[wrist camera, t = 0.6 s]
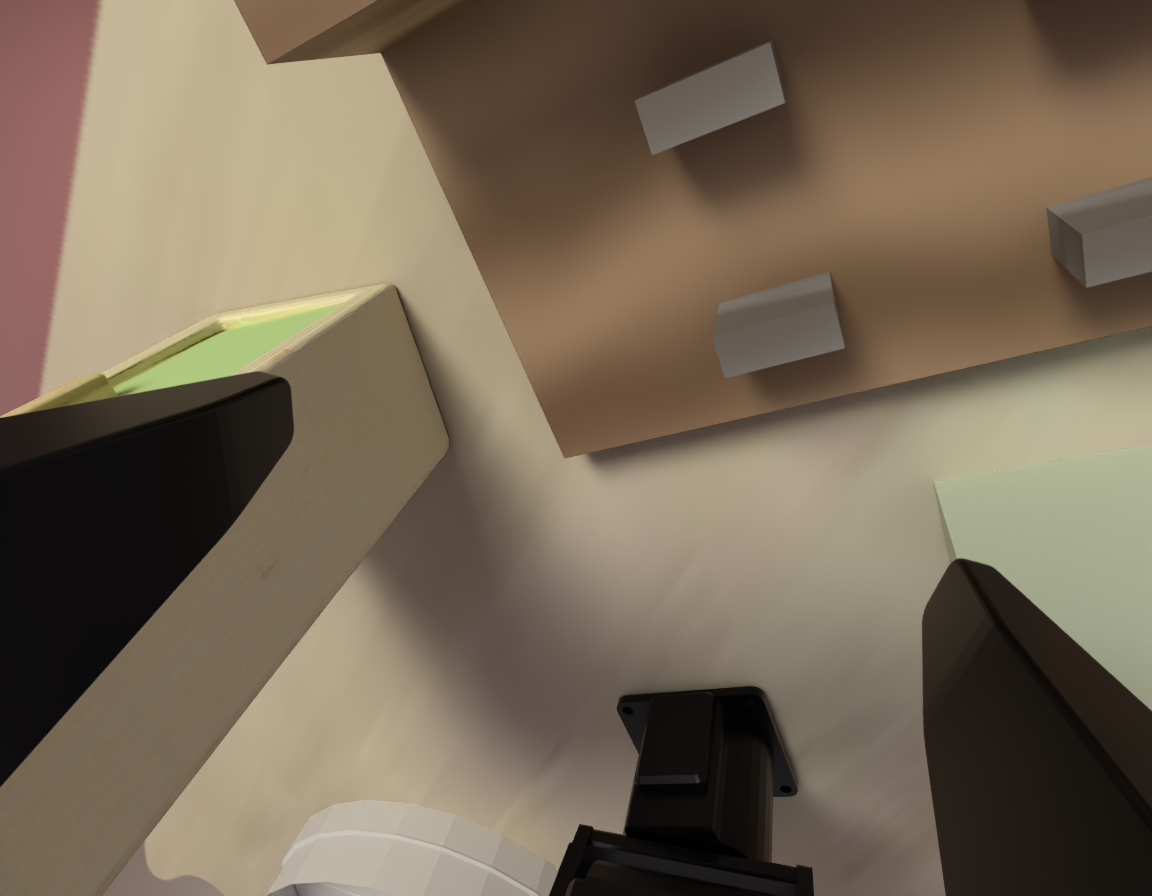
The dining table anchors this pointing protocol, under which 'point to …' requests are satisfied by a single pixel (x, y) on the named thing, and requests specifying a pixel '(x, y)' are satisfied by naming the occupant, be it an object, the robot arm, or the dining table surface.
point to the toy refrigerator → (227, 575)
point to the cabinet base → (770, 186)
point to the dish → (406, 856)
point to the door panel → (1069, 547)
